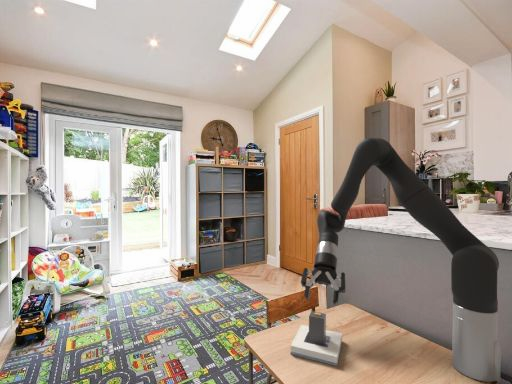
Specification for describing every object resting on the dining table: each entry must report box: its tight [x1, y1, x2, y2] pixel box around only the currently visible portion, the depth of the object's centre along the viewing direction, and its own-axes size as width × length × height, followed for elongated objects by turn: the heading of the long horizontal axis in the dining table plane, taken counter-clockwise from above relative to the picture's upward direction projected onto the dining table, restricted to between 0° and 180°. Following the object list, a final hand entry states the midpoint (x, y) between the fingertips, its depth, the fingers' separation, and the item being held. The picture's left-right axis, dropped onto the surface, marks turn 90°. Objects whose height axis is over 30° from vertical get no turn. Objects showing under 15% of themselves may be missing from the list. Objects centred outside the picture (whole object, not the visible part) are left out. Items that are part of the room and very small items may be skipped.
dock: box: [290, 324, 343, 367], centre depth 81 cm, size 13×13×2 cm
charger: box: [308, 311, 327, 347], centre depth 81 cm, size 4×4×9 cm
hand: (320, 301), depth 85 cm, fingers open, 8 cm apart
